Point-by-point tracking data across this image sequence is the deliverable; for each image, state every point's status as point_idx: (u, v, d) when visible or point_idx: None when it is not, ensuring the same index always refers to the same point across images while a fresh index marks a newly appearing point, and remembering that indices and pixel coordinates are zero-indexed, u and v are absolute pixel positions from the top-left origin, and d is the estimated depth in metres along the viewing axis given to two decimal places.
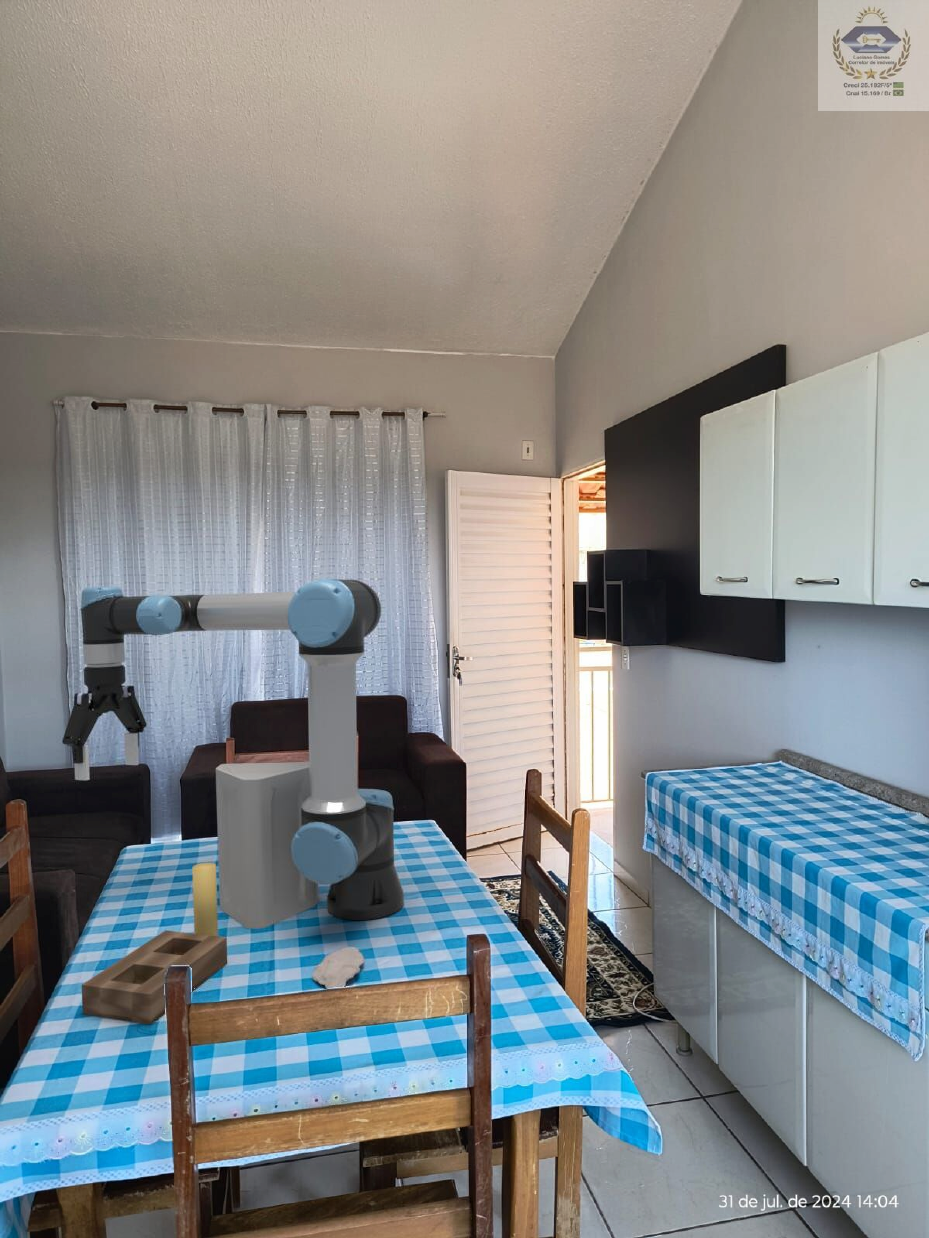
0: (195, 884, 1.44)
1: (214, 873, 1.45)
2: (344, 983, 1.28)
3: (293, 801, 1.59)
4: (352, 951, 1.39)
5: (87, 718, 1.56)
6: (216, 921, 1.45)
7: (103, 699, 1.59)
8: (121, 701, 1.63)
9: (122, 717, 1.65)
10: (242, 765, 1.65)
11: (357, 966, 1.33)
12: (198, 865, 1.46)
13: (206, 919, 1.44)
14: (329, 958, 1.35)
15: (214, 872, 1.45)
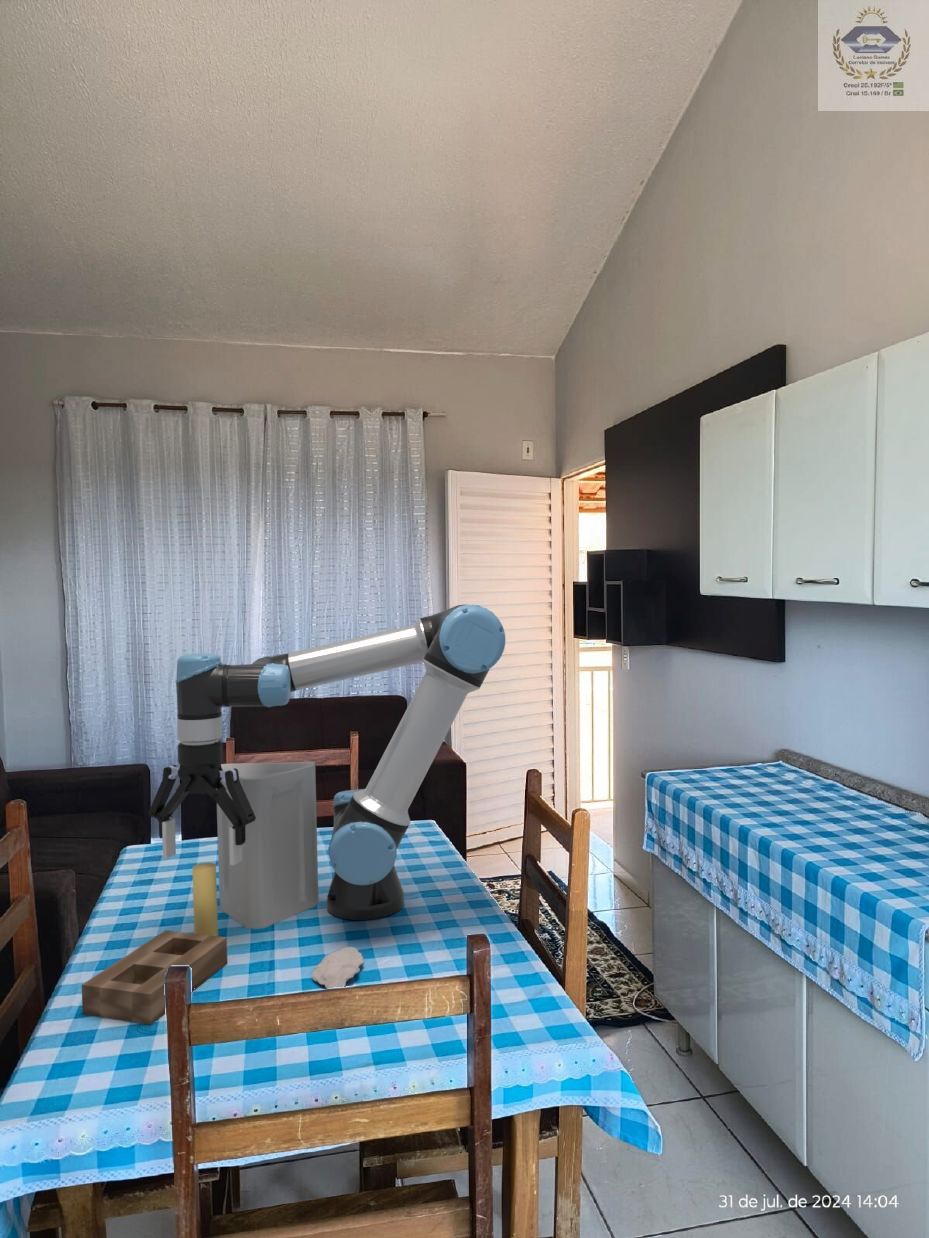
0: (195, 884, 1.44)
1: (214, 873, 1.45)
2: (344, 983, 1.28)
3: (293, 801, 1.59)
4: (352, 951, 1.39)
5: None
6: (216, 921, 1.45)
7: None
8: (207, 786, 1.43)
9: None
10: (242, 765, 1.65)
11: (357, 966, 1.33)
12: (198, 865, 1.46)
13: (206, 919, 1.44)
14: (328, 958, 1.35)
15: (214, 872, 1.45)
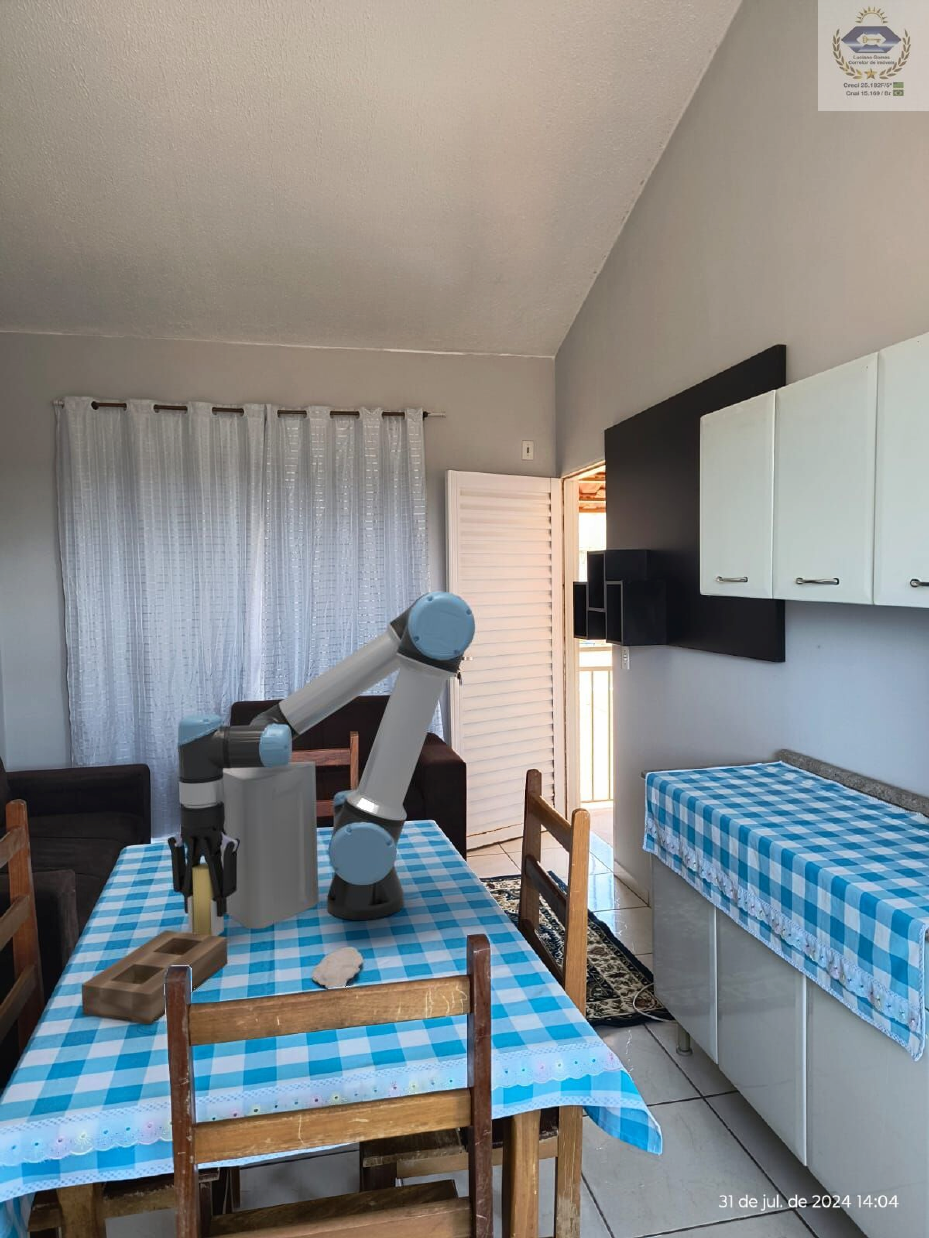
0: (195, 884, 1.44)
1: None
2: (344, 983, 1.28)
3: (293, 801, 1.59)
4: (351, 951, 1.39)
5: None
6: None
7: None
8: (206, 850, 1.43)
9: None
10: None
11: (357, 966, 1.33)
12: (198, 865, 1.46)
13: (206, 919, 1.44)
14: (328, 958, 1.35)
15: None
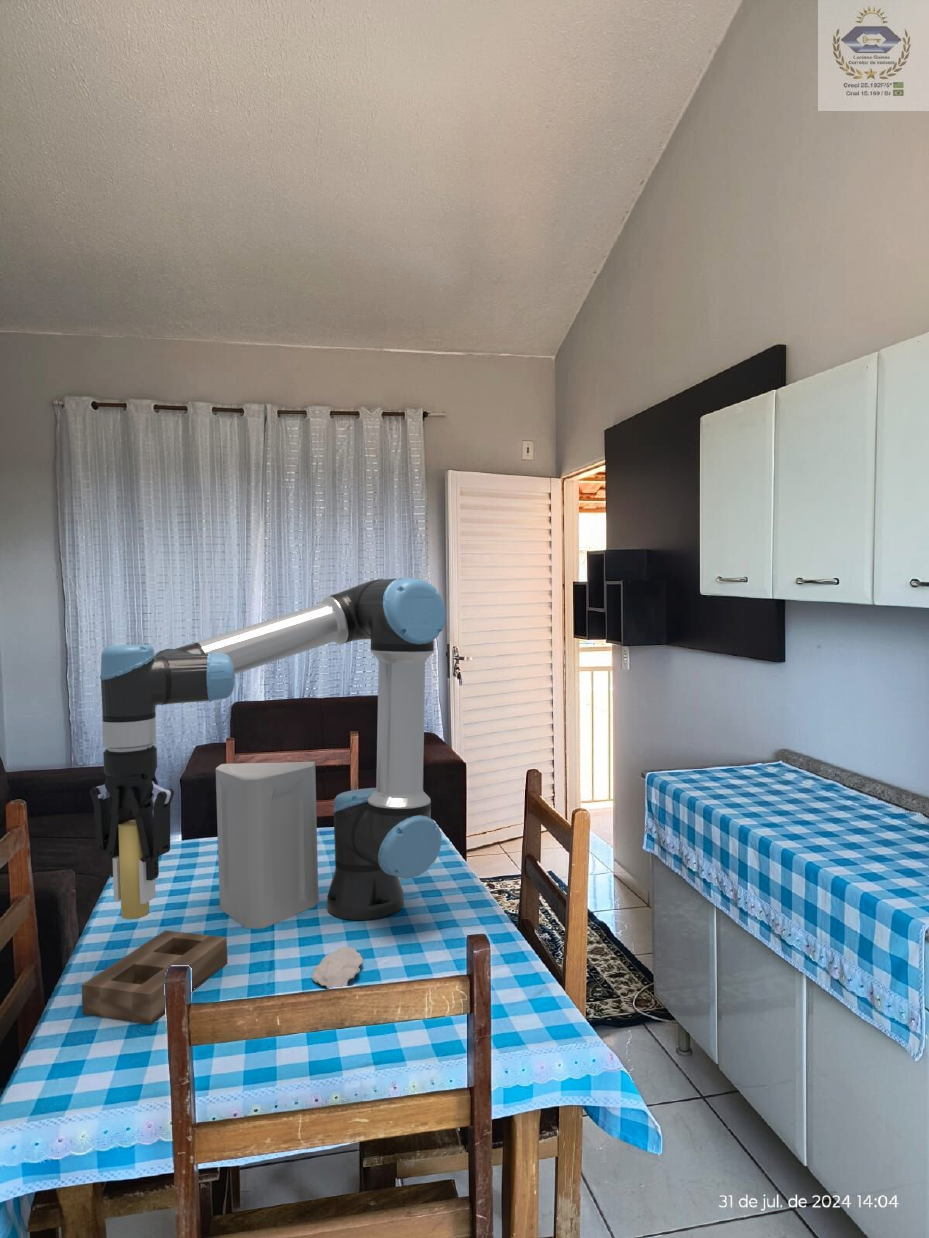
0: (121, 844, 1.23)
1: None
2: (346, 983, 1.28)
3: (293, 801, 1.59)
4: (350, 951, 1.39)
5: None
6: None
7: None
8: (134, 802, 1.22)
9: None
10: (242, 765, 1.65)
11: (357, 966, 1.33)
12: (126, 822, 1.25)
13: (134, 884, 1.23)
14: (328, 959, 1.35)
15: None
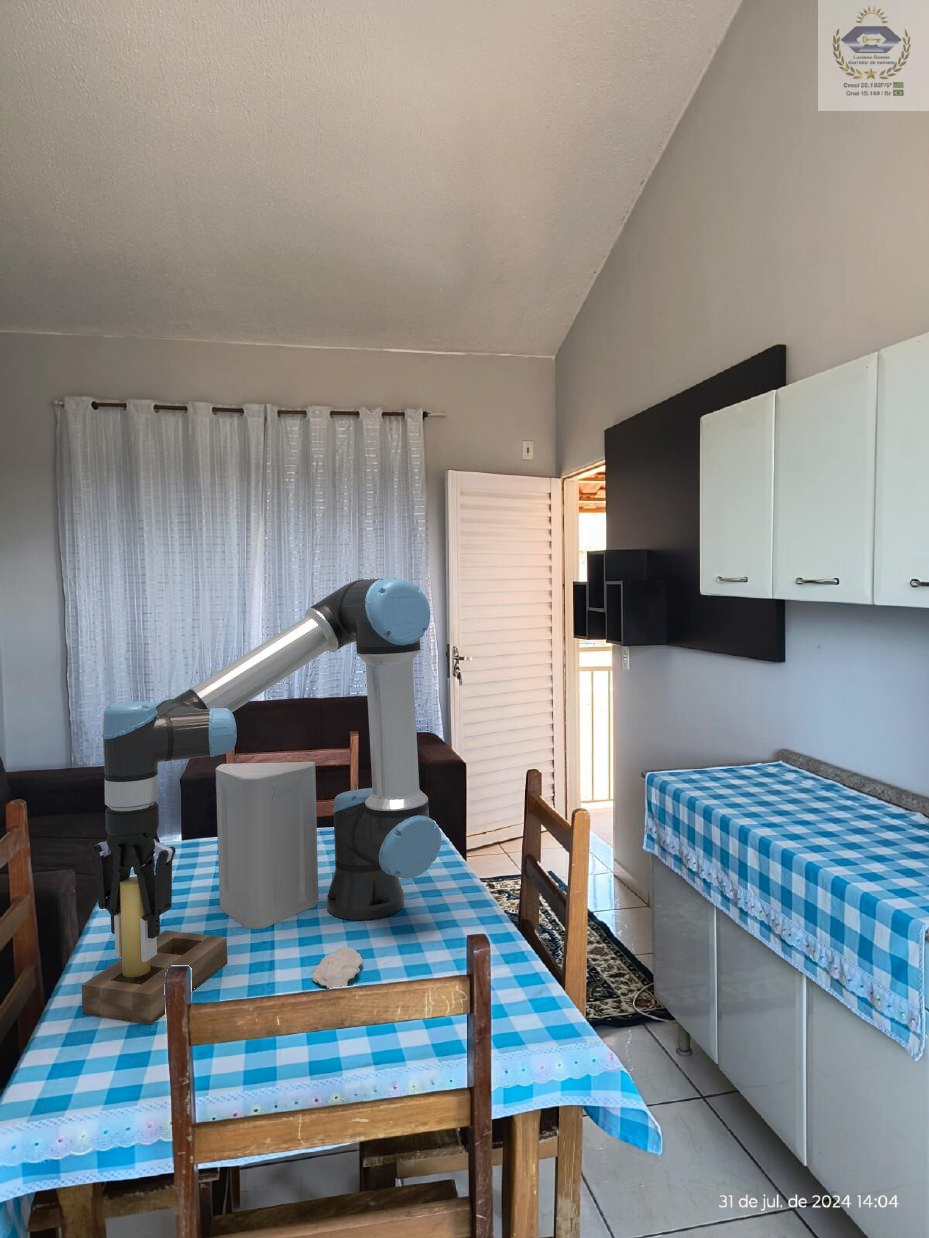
0: (123, 902, 1.23)
1: None
2: (346, 983, 1.27)
3: (293, 802, 1.59)
4: (350, 951, 1.39)
5: None
6: None
7: None
8: (135, 860, 1.22)
9: None
10: (242, 765, 1.65)
11: (357, 966, 1.33)
12: (127, 879, 1.25)
13: (135, 942, 1.23)
14: (328, 959, 1.35)
15: None
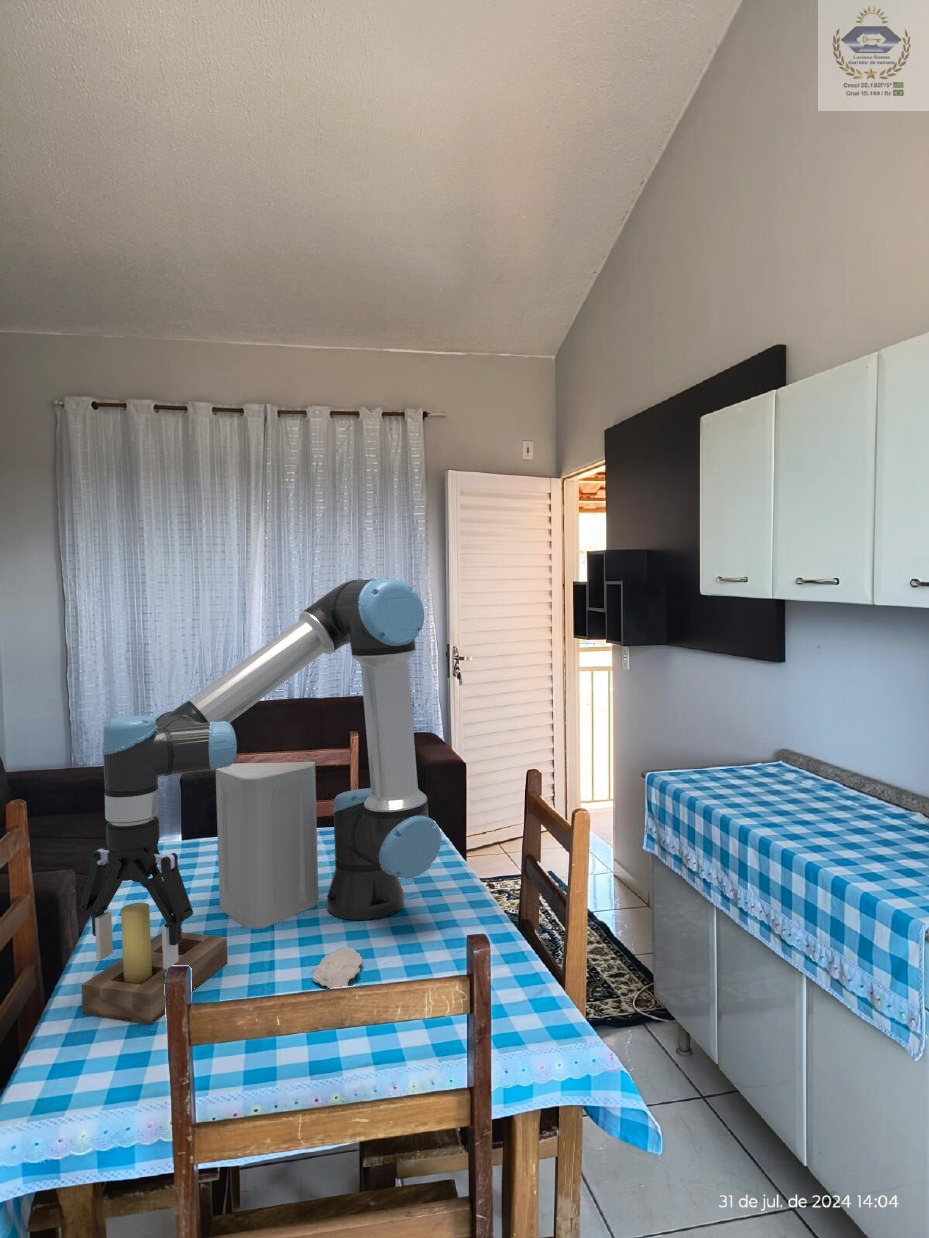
0: (124, 929, 1.23)
1: (147, 915, 1.24)
2: (346, 983, 1.27)
3: (293, 801, 1.59)
4: (350, 951, 1.39)
5: None
6: (149, 971, 1.25)
7: None
8: (139, 873, 1.22)
9: None
10: (242, 765, 1.65)
11: (357, 966, 1.33)
12: (128, 906, 1.25)
13: (137, 969, 1.23)
14: (328, 959, 1.35)
15: (147, 914, 1.24)
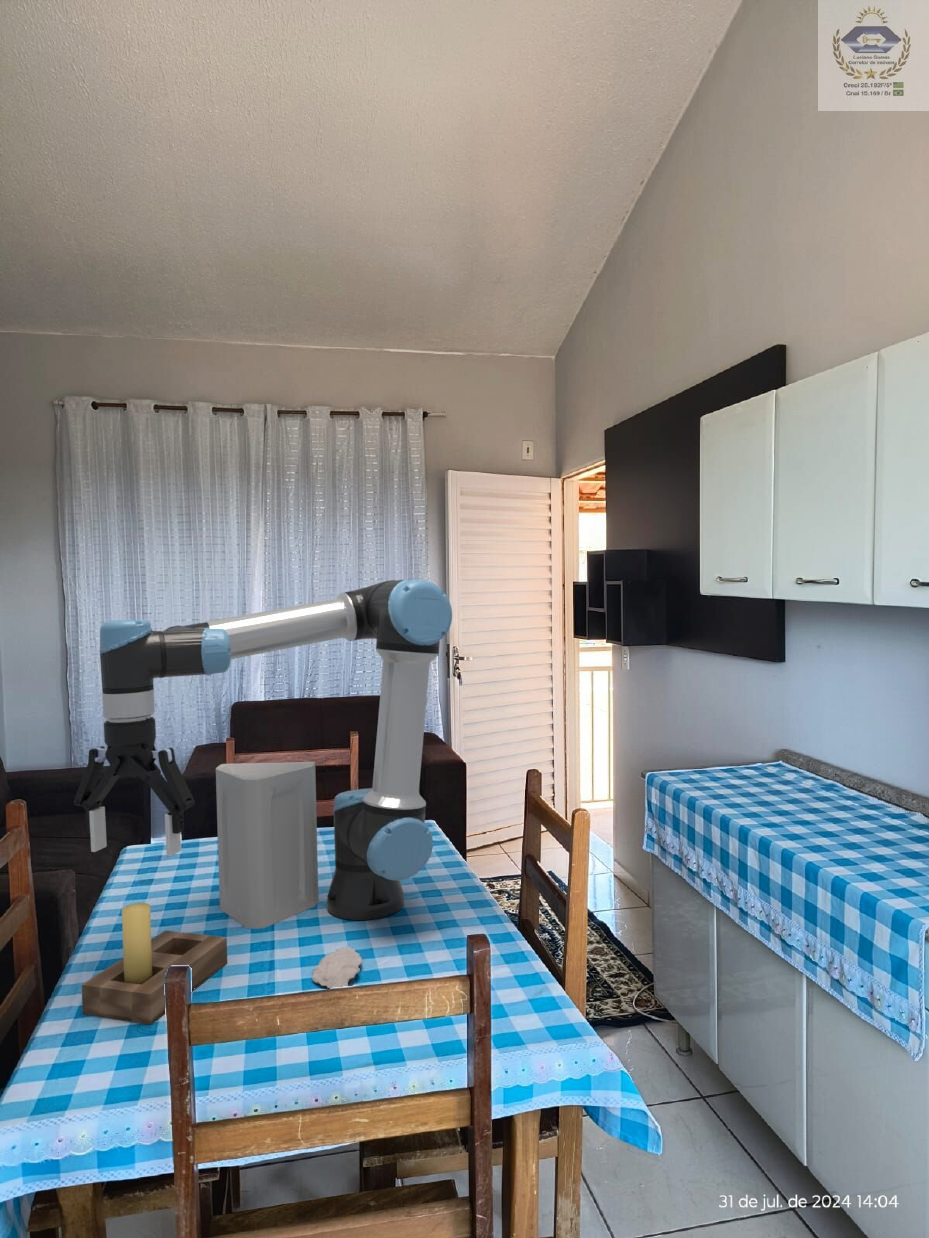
0: (125, 929, 1.23)
1: (147, 916, 1.24)
2: (346, 983, 1.27)
3: (293, 801, 1.59)
4: (349, 951, 1.39)
5: None
6: (150, 971, 1.25)
7: None
8: (138, 768, 1.26)
9: None
10: (242, 765, 1.65)
11: (356, 966, 1.33)
12: (129, 906, 1.25)
13: (137, 969, 1.23)
14: (327, 959, 1.35)
15: (147, 914, 1.24)
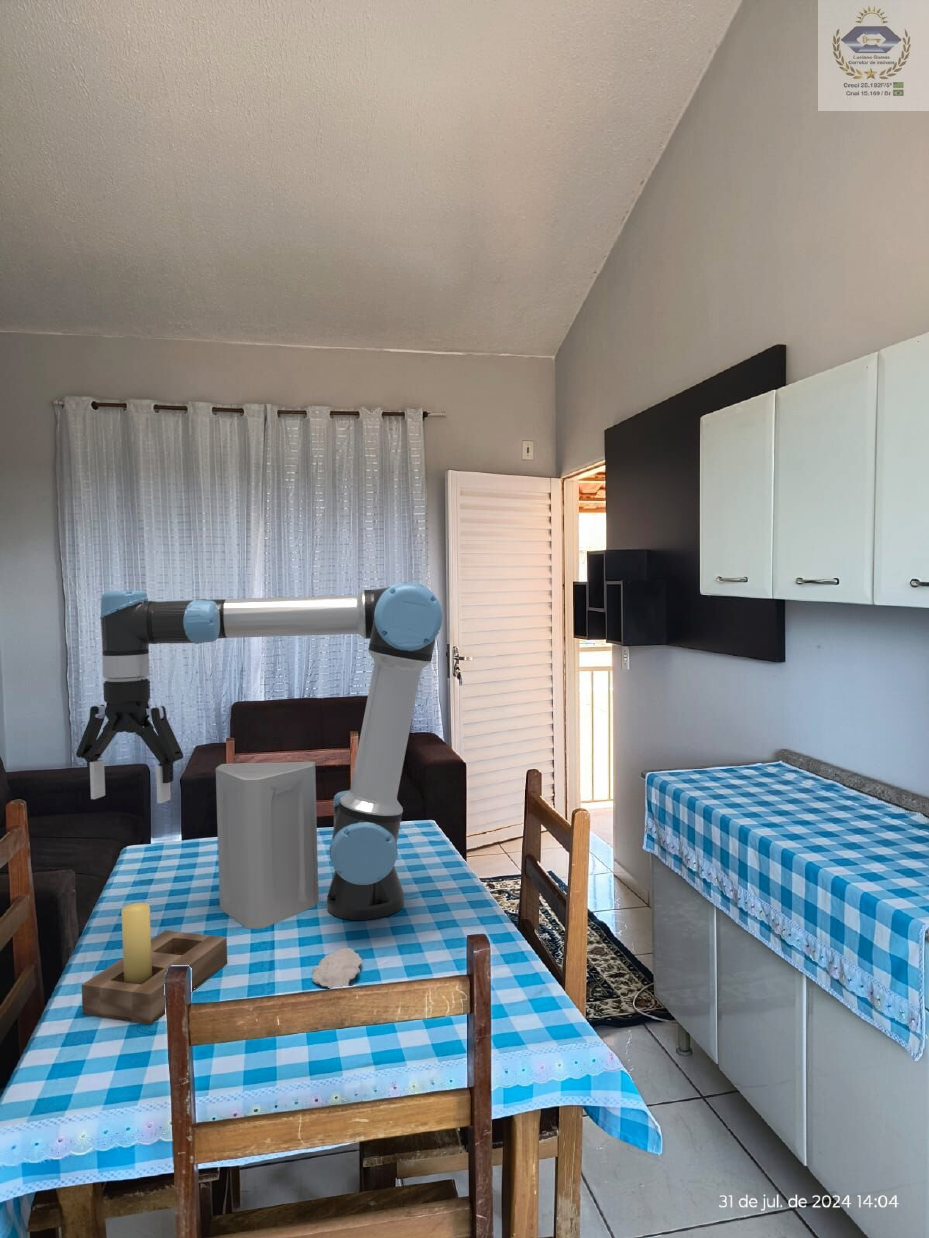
0: (125, 929, 1.23)
1: (147, 915, 1.24)
2: (347, 984, 1.27)
3: (293, 801, 1.59)
4: (348, 952, 1.39)
5: None
6: (149, 971, 1.25)
7: None
8: (133, 723, 1.40)
9: None
10: (242, 765, 1.65)
11: (357, 966, 1.33)
12: (129, 906, 1.25)
13: (137, 969, 1.23)
14: (327, 960, 1.35)
15: (147, 914, 1.24)
